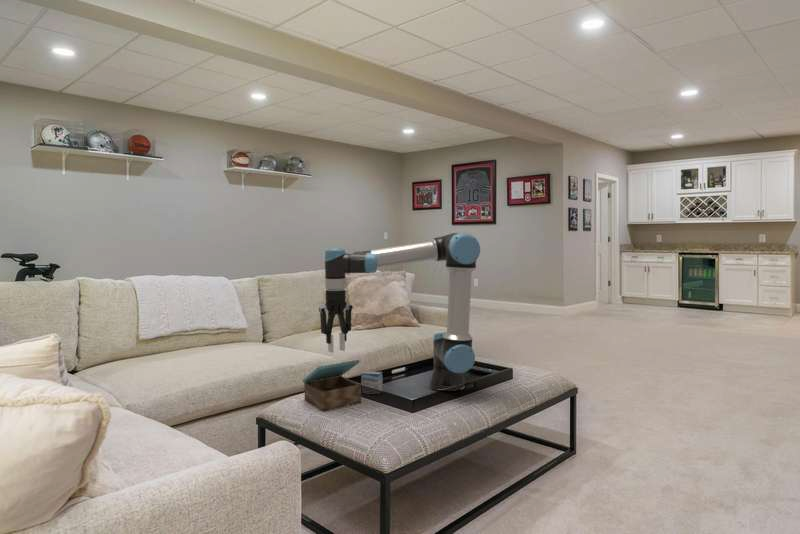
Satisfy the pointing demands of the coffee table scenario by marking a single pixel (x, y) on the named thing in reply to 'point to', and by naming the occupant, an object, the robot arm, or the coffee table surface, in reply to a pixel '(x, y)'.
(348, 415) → the coffee table surface
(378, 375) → the medicine box
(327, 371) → the lid
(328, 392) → the crate
